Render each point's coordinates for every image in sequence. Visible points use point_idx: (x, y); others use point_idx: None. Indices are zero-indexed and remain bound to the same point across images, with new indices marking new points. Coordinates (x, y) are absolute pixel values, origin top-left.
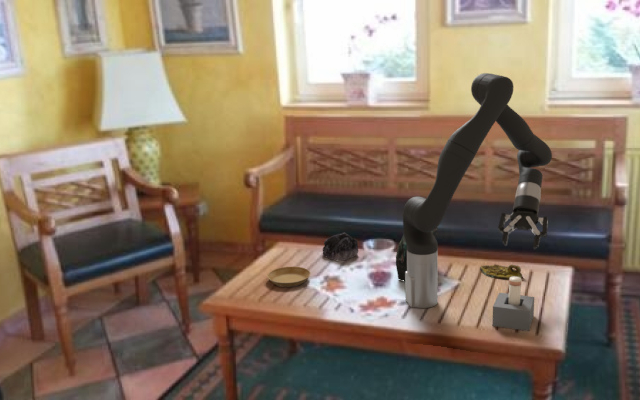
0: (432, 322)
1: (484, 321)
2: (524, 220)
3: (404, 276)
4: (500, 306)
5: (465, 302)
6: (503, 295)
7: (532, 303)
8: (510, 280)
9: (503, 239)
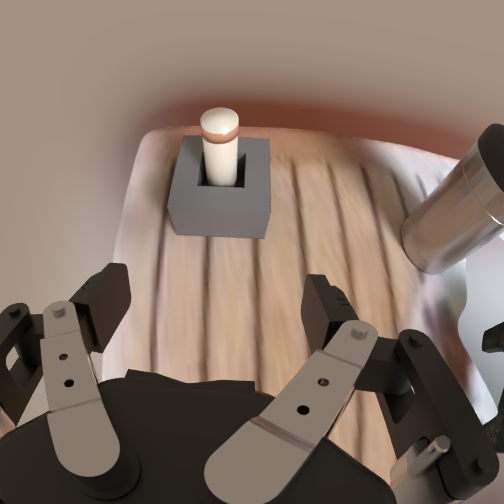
0: (372, 167)
1: (284, 185)
2: (157, 451)
3: (492, 328)
4: (252, 140)
5: (352, 268)
6: (255, 195)
7: (174, 173)
8: (234, 113)
9: (337, 295)
